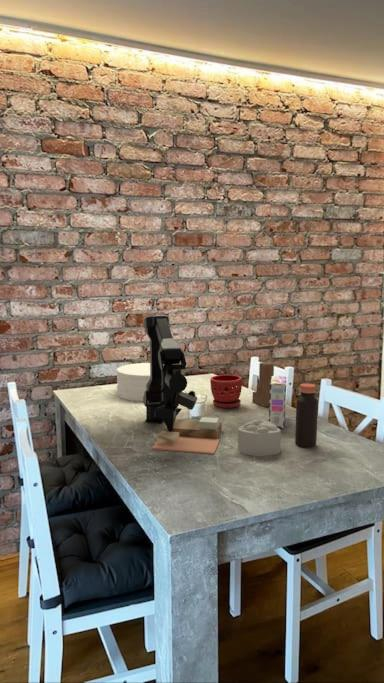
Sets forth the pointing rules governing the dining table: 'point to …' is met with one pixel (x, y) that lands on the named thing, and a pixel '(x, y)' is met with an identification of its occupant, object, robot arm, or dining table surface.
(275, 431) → the lumpy-topped squat cylinder
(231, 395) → the plant pot
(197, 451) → the terracotta mat
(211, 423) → the sage tile
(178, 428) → the walnut board
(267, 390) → the wooden block
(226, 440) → the dining table surface
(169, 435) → the maple tile
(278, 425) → the candy box
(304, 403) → the bottle
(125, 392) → the plate stack
